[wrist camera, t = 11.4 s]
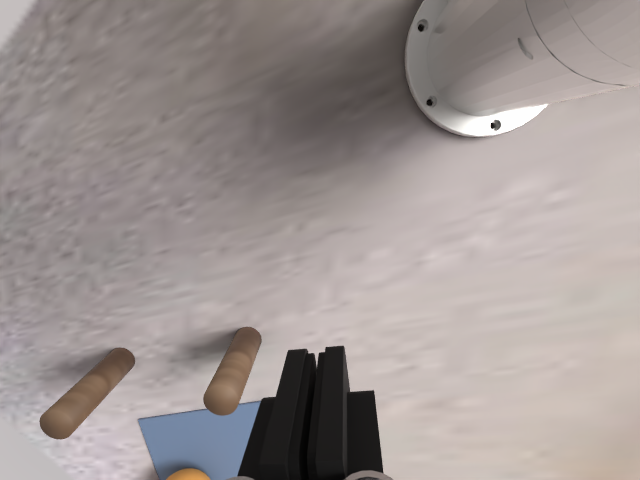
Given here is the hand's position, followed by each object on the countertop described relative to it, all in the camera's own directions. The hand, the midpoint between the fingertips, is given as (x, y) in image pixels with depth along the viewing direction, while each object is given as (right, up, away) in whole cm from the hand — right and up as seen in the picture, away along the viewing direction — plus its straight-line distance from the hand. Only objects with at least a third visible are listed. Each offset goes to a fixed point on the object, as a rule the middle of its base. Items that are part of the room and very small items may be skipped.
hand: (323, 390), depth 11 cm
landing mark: (-11, -20, +29) cm, 36 cm away
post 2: (-7, -5, +25) cm, 26 cm away
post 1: (-20, -8, +26) cm, 34 cm away
